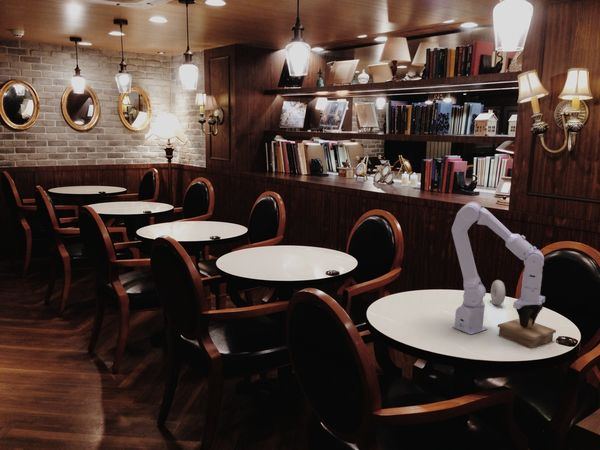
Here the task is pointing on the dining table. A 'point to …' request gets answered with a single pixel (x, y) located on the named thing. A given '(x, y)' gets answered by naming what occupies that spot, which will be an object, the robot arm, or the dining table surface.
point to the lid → (527, 329)
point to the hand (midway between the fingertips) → (526, 325)
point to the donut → (498, 292)
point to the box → (525, 340)
